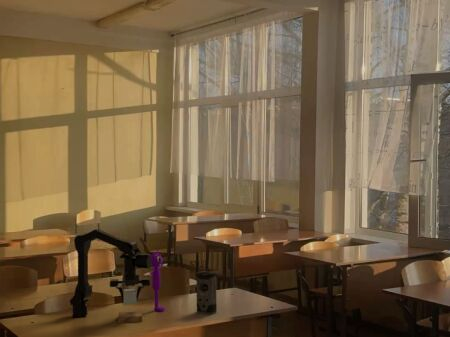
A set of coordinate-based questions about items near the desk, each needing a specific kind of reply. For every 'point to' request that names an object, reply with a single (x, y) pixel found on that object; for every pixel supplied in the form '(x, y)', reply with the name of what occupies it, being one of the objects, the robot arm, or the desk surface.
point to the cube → (129, 296)
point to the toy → (156, 277)
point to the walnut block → (130, 317)
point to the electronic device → (206, 292)
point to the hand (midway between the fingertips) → (130, 300)
